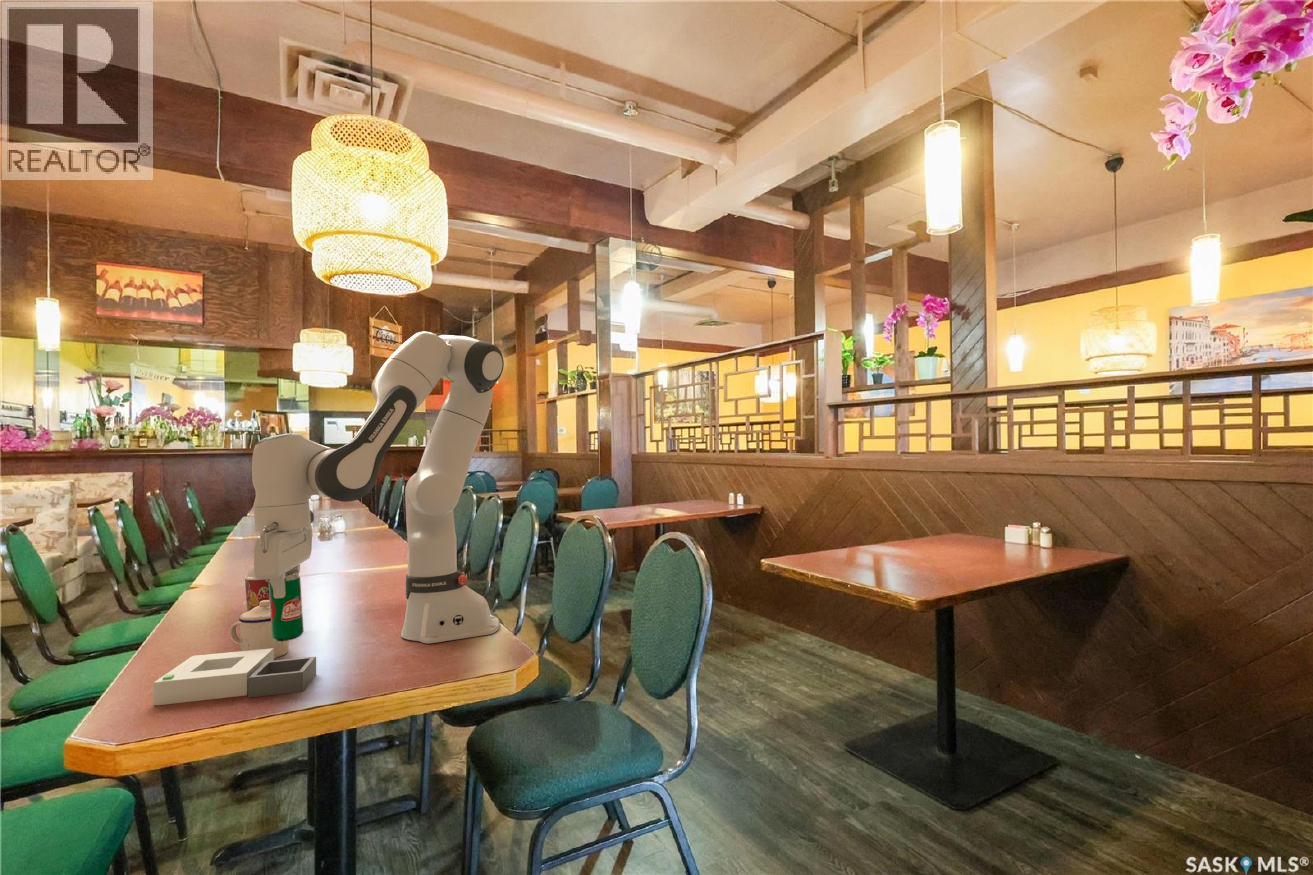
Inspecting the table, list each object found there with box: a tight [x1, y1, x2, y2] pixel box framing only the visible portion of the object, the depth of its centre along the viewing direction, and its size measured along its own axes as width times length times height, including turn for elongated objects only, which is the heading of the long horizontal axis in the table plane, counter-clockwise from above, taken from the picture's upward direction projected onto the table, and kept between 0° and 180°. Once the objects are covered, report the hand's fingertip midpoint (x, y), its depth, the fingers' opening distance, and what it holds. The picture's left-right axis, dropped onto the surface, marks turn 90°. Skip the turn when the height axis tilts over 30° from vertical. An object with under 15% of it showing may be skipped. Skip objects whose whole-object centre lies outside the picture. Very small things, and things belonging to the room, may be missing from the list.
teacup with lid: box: [229, 600, 289, 659], centre depth 128 cm, size 12×9×12 cm
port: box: [153, 648, 275, 707], centre depth 111 cm, size 14×14×4 cm
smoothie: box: [244, 564, 270, 612], centre depth 146 cm, size 8×8×20 cm
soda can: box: [269, 571, 305, 642], centre depth 111 cm, size 5×5×12 cm
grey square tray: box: [248, 655, 317, 699], centre depth 111 cm, size 9×9×4 cm
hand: (286, 593), depth 111 cm, fingers closed on soda can, 5 cm apart
